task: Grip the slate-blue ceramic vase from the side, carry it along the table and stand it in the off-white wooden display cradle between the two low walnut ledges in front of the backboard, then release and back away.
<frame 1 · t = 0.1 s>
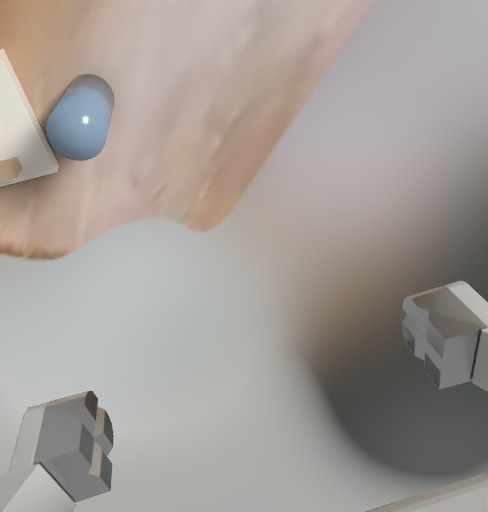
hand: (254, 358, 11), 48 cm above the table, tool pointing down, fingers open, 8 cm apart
slate blue vase: (91, 97, 51), on the table
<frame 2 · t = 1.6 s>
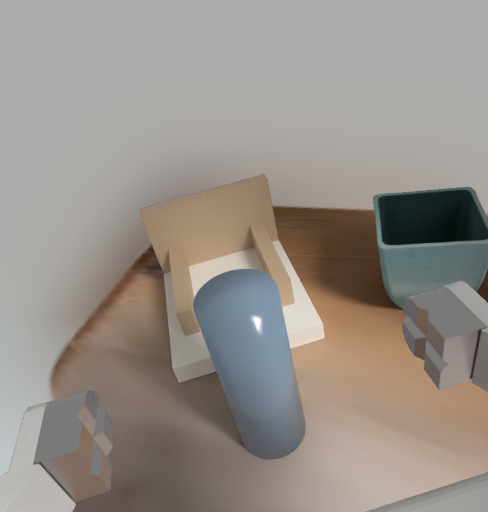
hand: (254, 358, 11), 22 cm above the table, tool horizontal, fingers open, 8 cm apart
flower pot: (423, 293, 42), on the table
slate blue vase: (272, 426, 34), on the table
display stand: (235, 304, 46), on the table
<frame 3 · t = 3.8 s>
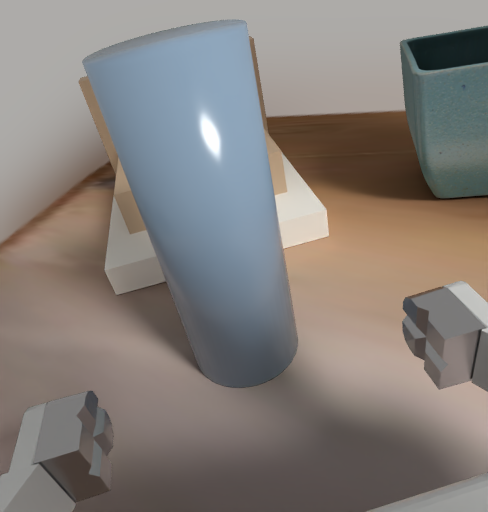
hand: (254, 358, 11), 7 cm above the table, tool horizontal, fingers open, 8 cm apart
flower pot: (468, 183, 30), on the table
slate blue vase: (246, 343, 21), on the table
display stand: (208, 208, 34), on the table
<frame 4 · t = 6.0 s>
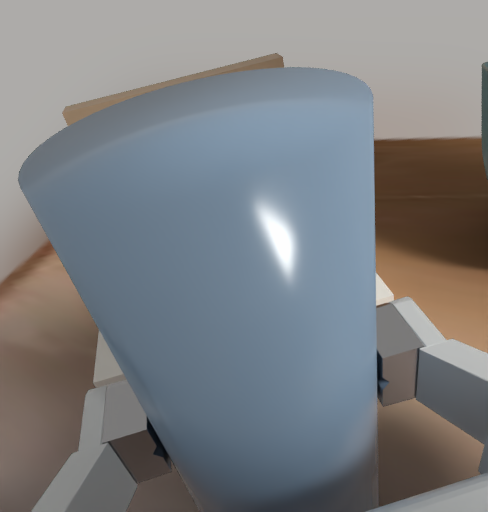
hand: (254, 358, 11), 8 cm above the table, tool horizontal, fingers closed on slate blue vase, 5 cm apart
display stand: (226, 270, 27), on the table
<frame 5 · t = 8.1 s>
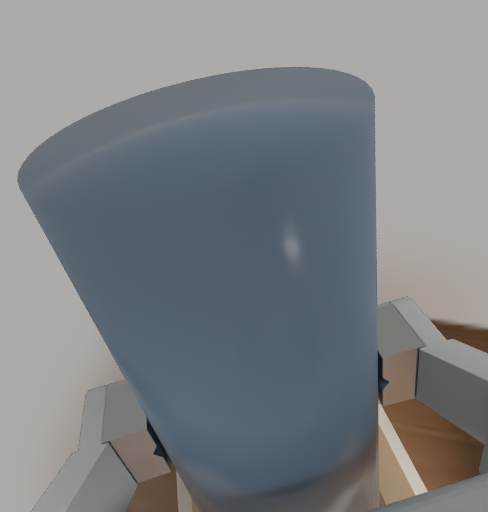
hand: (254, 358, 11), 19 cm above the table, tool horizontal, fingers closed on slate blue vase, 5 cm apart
when the fingers open (11 cm above the table, at t = 10.4 s): slate blue vase drops 1 cm, resting on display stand.
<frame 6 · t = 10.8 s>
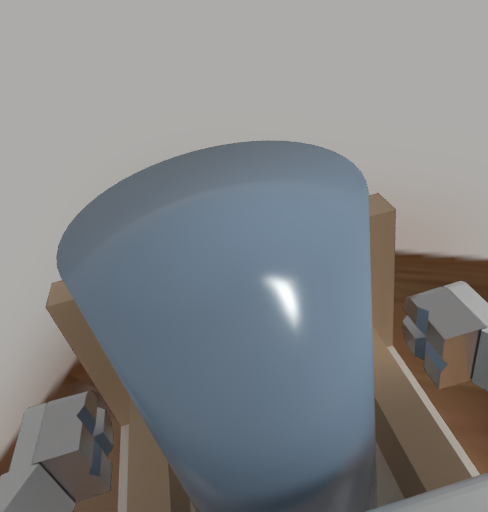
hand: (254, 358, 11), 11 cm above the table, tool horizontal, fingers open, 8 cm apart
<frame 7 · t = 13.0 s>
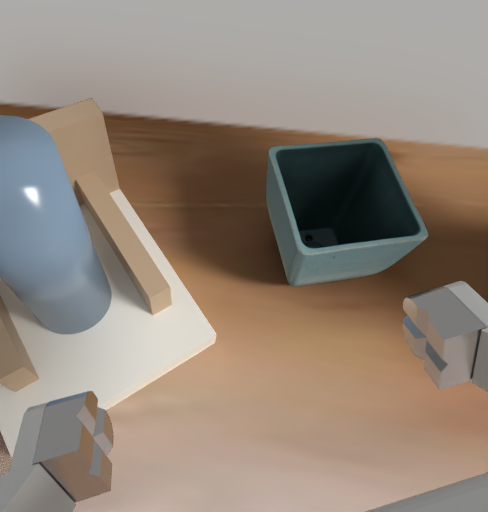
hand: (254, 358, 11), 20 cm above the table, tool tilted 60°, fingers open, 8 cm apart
flower pot: (311, 256, 36), on the table
slate blue vase: (73, 298, 30), point 2 cm above the table, touching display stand
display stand: (77, 303, 32), on the table
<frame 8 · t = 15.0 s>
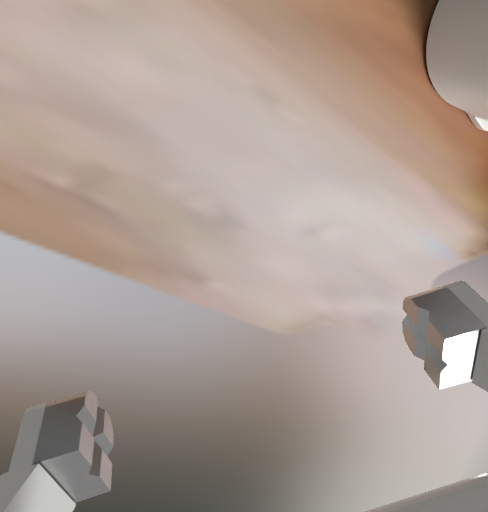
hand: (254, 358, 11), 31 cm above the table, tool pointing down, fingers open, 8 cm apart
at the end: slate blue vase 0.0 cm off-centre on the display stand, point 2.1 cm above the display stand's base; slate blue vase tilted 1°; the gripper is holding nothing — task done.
